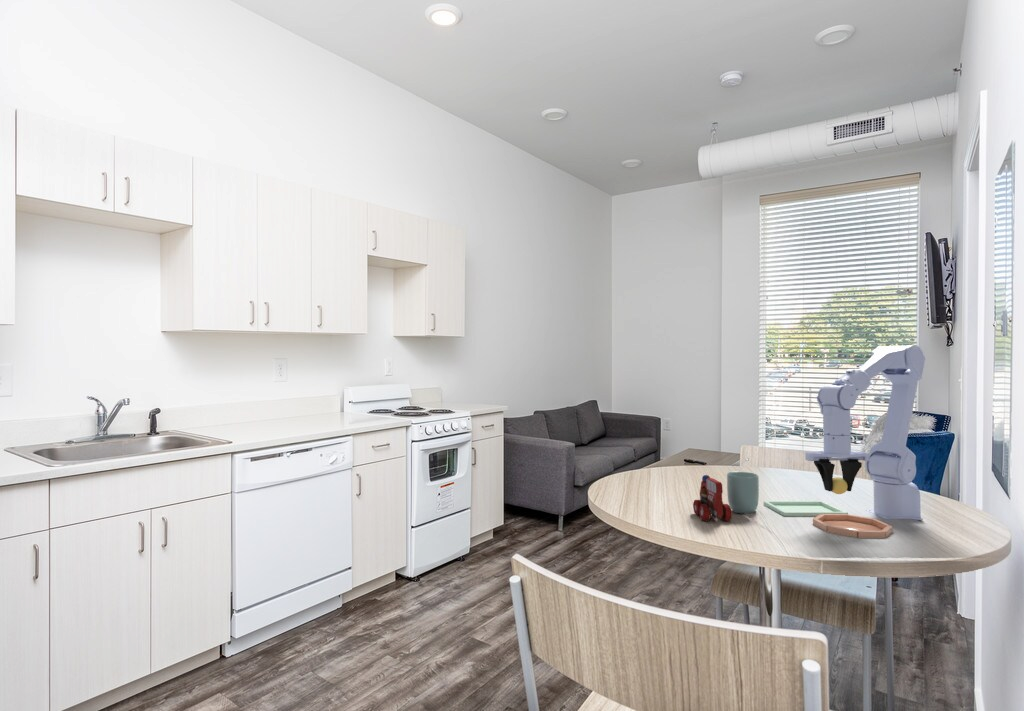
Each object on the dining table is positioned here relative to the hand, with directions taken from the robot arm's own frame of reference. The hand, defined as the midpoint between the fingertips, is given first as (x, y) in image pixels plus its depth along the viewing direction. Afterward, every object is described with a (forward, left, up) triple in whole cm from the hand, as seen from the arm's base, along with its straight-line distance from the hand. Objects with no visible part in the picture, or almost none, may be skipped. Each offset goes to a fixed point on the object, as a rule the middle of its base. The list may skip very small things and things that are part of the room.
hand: (837, 490), depth 134 cm
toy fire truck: (+28, -7, -9) cm, 30 cm away
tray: (+2, -12, -8) cm, 15 cm away
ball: (0, 0, -1) cm, 1 cm away
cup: (+18, -12, -9) cm, 23 cm away
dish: (-1, +4, -8) cm, 9 cm away
